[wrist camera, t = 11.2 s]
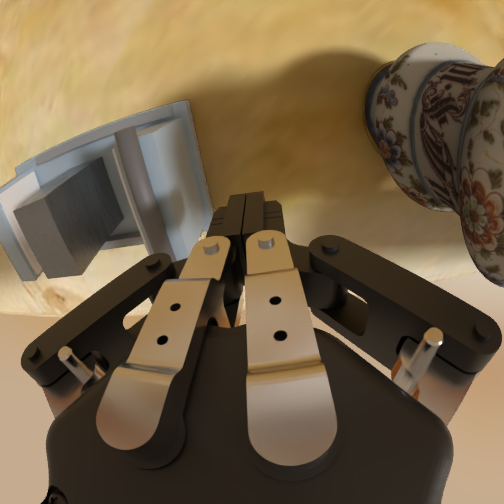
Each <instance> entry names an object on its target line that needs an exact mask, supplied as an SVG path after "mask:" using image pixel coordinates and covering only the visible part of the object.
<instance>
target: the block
mask: <svg viewBox="0 0 504 504" xmlns="http://www.w3.org/2000/svg"><path fill="white" fill-rule="evenodd" d="M13 213H14V215H15V218H16V220H17V222H18V224H19V226H20V228H21V230H22V232H23V234H24V236H25V238H26V240H27V242H28V244H29V246H30V248H31V250H32V252H33V254H34V255H35V257H36V259H37V261H38V263H39V264H40V266H41V268H42V269H43V271H44V273H45V274H46V276H47V278H48V279H50V278H59V277H68V276H77V275H82V274H83V273H84V271H85V270H86V268H87V267H88V265H89V264H90V263H91V261H92V260H93V258H94V257H95V256H96V254H97V253H98V251H99V250H100V249H101V247H102V246H103V245H104V243H105V242H106V241H107V239H108V238H109V237H110V235H111V234H112V233H113V231H114V230H115V229H116V228H117V226H118V225H119V224H120V223H121V221H122V220H123V219H124V216H123V214H122V211H121V209H120V206H119V203H118V201H117V198H116V195H115V193H114V190H113V187H112V184H111V181H110V178H109V176H108V173H107V170H106V167H105V164H104V161H103V157H99V158H96V159H94V160H91V161H88V162H86V163H83V164H80V165H78V166H75V167H73V168H70V169H68V170H67V171H65V172H64V173H62V174H61V175H59V176H58V177H57V178H55V179H54V180H52V181H51V182H49V183H48V184H47V185H45V186H44V187H43V188H41V189H40V190H39V191H37V192H36V193H35V194H33V195H32V196H31V197H29V198H28V199H27V200H26V201H24V202H23V203H22V204H21V205H19V206H18V207H17V208H16V209H15V210H13Z"/></svg>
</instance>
